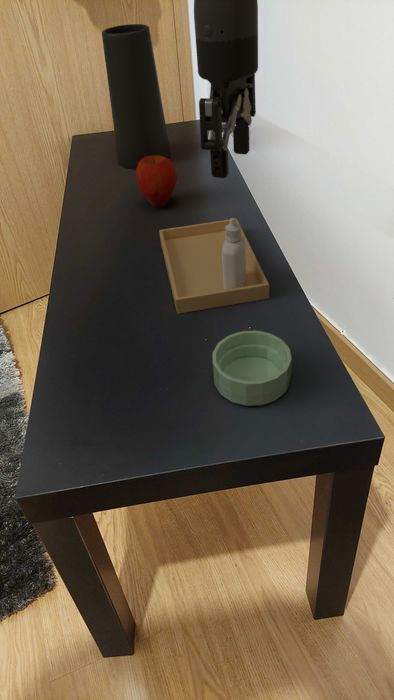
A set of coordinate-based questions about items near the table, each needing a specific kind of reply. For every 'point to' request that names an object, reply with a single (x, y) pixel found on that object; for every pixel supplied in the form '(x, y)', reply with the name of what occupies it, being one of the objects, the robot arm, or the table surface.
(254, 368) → the bowl
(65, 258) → the table surface
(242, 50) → the robot arm
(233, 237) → the eye dropper bottle
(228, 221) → the tray
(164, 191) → the apple
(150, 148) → the vase
